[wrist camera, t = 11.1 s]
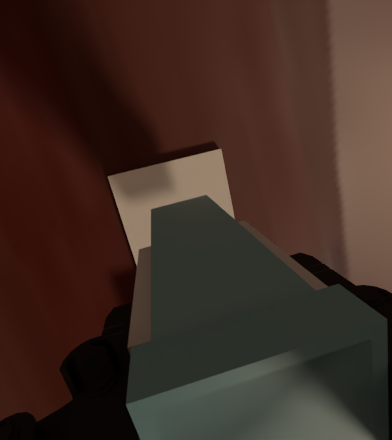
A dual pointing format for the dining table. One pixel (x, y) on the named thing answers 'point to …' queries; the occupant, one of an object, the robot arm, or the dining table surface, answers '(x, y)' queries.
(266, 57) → the dining table surface
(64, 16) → the dining table surface
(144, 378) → the plug
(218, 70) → the dining table surface
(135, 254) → the tile
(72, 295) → the dining table surface
